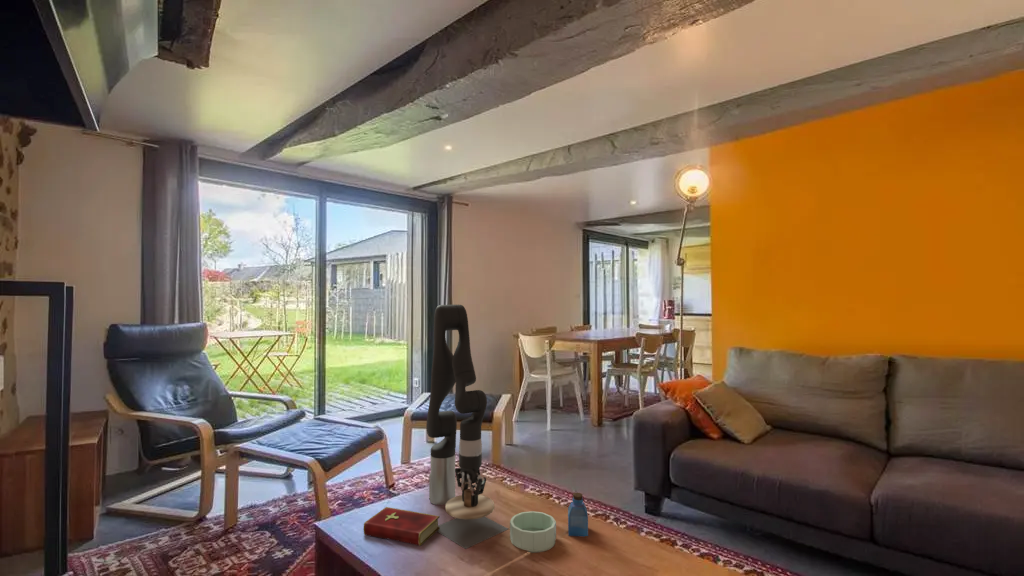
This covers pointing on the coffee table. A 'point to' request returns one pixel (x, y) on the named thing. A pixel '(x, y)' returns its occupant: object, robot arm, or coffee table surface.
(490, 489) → the coffee table surface
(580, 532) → the perfume bottle
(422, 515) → the hardcover book
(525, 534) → the bowl
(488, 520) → the mat
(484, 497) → the lid
